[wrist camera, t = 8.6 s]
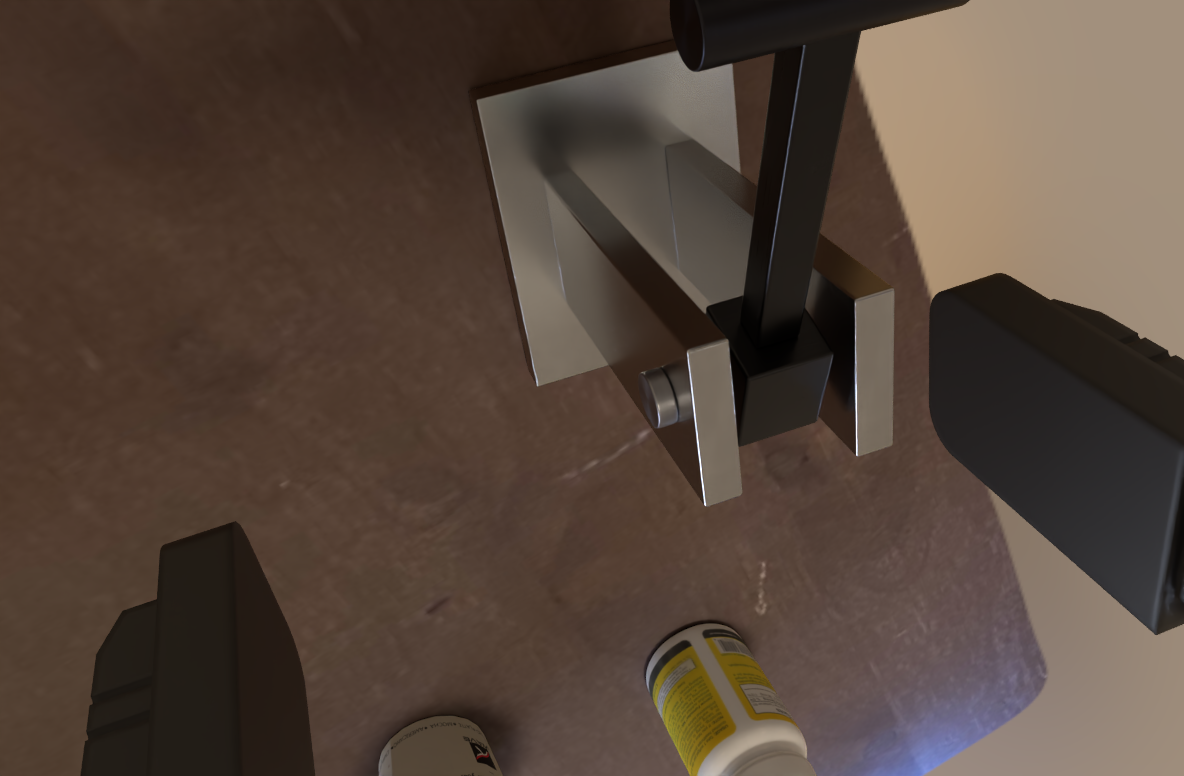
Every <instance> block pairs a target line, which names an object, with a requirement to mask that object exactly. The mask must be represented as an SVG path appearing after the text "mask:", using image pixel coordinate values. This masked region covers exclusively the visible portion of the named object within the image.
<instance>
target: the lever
mask: <svg viewBox="0 0 1184 776" xmlns="http://www.w3.org/2000/svg"><path fill="white" fill-rule="evenodd" d="M968 1H969V0H670V21H671V28H672V33H673V37H674V41H675V44H676V47H677V50H678V52H679V55H680V57H681V59H682V61H683V63H684V64H685V65H686V67H687V68H688V69H689V70H691V71H693V72H700V71H704V70H708V69H712V68H716V67H720V66H724V65H728V64H732V63H736V62H740V61H744V60H748V59H752V58H756V57H760V56H764V55H768V54H772V53H775V56H774V63H773V71H772V79H771V86H770V94H769V102H768V109H767V117H766V125H765V132H764V140H763V148H762V155H761V163H760V171H759V178H758V186H757V194H756V201H755V209H754V217H753V224H752V232H751V240H750V247H749V255H748V263H747V270H746V278H745V286H744V293H743V295H742V296H739V297H735V298H732V299H729V300H725V301H722V302H718V303H715V304H712V305H709V306H707V307H706V315H707V316H708V317H709V319H710V320H711V321H712V322H713V323H714V324H715V325H716V326H717V327H718V328H719V329H720V330H721V332H722V333H723V334H724V335H725V336H726V337H727V338H728V340H729V349H730V360H731V371H732V382H733V394H734V405H735V416H736V427H737V438H738V447H741V446H744V445H747V444H750V443H753V442H756V441H759V440H762V439H765V438H769V437H772V436H775V435H778V434H781V433H784V432H787V431H790V430H793V429H796V428H799V427H802V426H806V425H809V424H812V423H815V422H816V421H817V419H818V415H819V411H820V407H821V403H822V400H823V396H824V392H825V388H826V384H827V380H828V376H829V372H830V368H831V364H832V360H833V356H834V352H833V350H832V349H831V347H830V345H829V344H828V342H827V341H826V339H825V338H824V336H823V335H822V333H821V332H820V330H819V328H818V327H817V325H816V324H815V322H814V321H813V319H812V318H811V316H810V314H809V313H808V311H807V310H806V308H805V303H806V298H807V293H808V289H809V284H810V279H811V274H812V269H813V264H814V259H815V254H816V249H817V244H818V240H819V235H820V230H821V225H822V220H823V215H824V210H825V205H826V200H827V196H828V191H829V186H830V181H831V176H832V171H833V166H834V161H835V156H836V151H837V147H838V142H839V137H840V132H841V127H842V122H843V117H844V112H845V107H846V102H847V98H848V93H849V88H850V83H851V78H852V73H853V68H854V63H855V58H856V53H857V49H858V43H859V38H860V34H861V31H863V30H867V29H871V28H875V27H879V26H883V25H887V24H891V23H895V22H899V21H903V20H907V19H911V18H915V17H919V16H923V15H927V14H931V13H935V12H939V11H943V10H947V9H951V8H955V7H959V6H962V5H964V4H966V3H967V2H968Z"/></svg>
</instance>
